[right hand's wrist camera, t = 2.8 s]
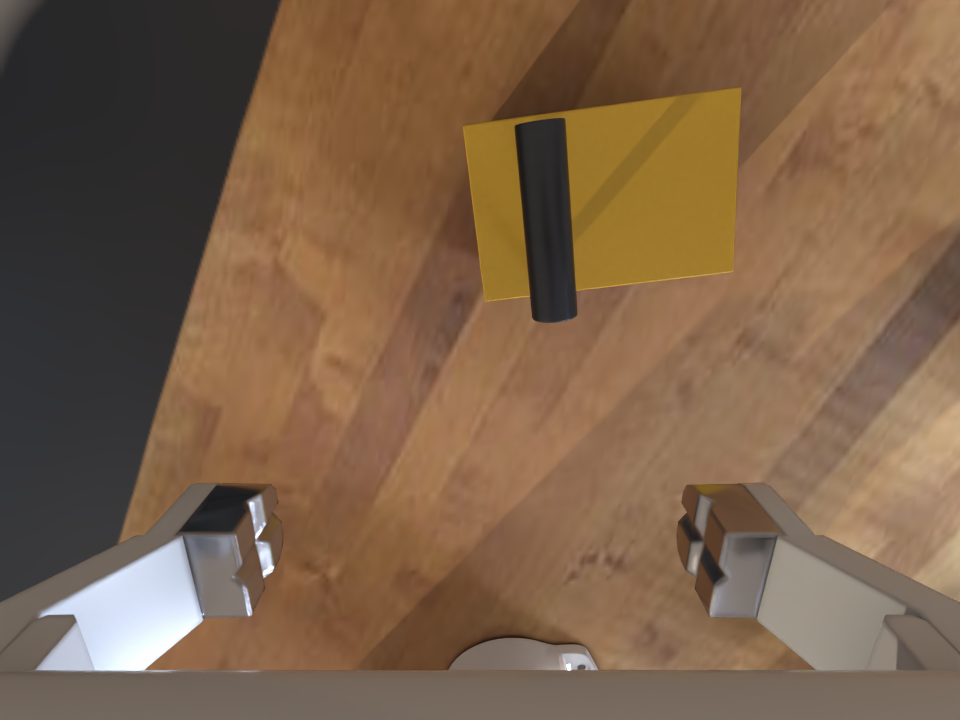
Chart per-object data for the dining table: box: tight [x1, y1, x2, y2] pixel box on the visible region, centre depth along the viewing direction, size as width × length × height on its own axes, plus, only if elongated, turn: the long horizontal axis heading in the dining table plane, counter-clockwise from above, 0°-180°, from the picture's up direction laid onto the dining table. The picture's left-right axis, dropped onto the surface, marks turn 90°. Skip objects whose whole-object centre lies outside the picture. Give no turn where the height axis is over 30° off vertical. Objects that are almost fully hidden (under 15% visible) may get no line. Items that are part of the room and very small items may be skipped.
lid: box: [463, 87, 741, 323], centre depth 25 cm, size 14×9×9 cm, turn 97°
